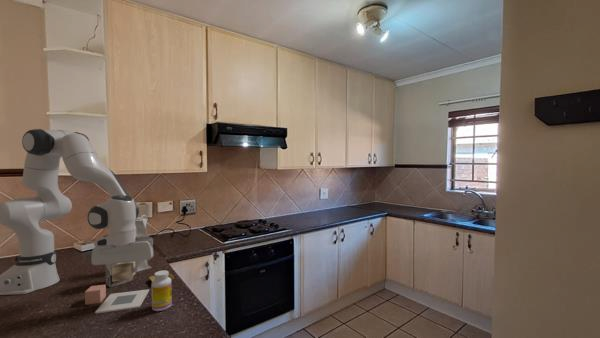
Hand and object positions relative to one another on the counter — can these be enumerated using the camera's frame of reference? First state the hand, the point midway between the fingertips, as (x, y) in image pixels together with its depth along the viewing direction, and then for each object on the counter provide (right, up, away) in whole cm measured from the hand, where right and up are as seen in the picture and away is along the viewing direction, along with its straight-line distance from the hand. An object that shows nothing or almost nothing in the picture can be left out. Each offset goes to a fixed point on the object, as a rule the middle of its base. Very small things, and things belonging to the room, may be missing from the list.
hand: (124, 273), depth 105 cm
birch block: (0, -2, 0) cm, 2 cm away
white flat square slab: (0, -11, 0) cm, 11 cm away
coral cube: (-12, -11, +1) cm, 16 cm away
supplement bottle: (+17, -11, -4) cm, 21 cm away
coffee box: (-13, -11, +17) cm, 24 cm away
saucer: (+5, -11, +18) cm, 22 cm away
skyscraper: (-13, -11, +33) cm, 37 cm away
